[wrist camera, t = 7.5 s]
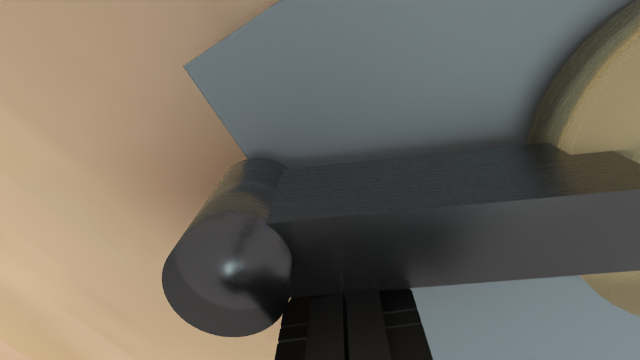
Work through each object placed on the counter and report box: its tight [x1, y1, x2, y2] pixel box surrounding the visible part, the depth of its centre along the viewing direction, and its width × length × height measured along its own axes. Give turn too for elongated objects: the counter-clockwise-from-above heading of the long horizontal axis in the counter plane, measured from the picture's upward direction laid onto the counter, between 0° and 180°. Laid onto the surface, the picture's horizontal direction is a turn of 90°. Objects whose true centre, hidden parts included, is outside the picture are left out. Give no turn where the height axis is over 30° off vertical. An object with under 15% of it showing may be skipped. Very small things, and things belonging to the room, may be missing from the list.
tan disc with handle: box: [162, 0, 640, 337], centre depth 9 cm, size 18×9×5 cm, turn 97°
